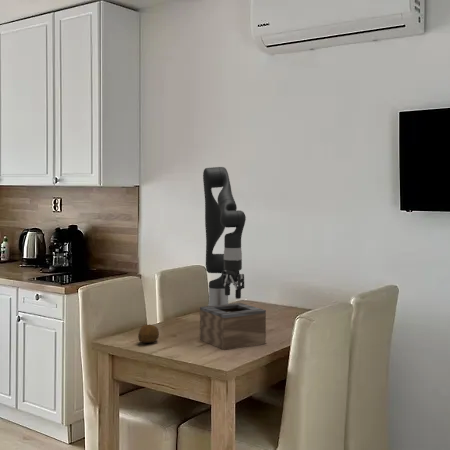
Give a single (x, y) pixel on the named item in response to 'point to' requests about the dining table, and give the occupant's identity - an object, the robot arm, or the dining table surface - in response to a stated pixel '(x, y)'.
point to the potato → (148, 334)
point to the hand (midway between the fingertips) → (232, 296)
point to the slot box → (232, 325)
